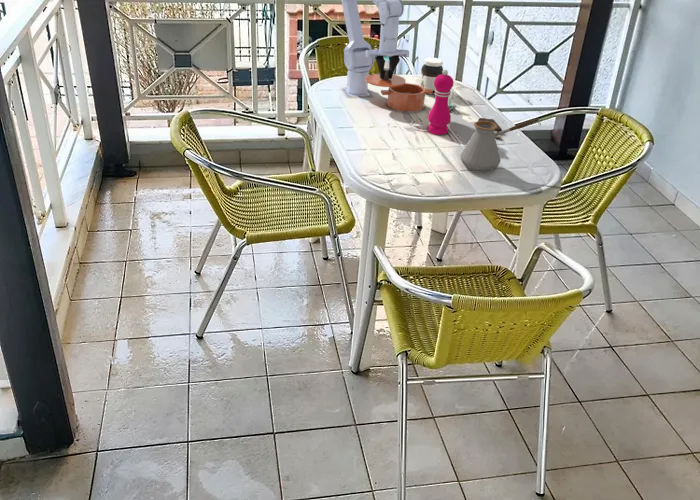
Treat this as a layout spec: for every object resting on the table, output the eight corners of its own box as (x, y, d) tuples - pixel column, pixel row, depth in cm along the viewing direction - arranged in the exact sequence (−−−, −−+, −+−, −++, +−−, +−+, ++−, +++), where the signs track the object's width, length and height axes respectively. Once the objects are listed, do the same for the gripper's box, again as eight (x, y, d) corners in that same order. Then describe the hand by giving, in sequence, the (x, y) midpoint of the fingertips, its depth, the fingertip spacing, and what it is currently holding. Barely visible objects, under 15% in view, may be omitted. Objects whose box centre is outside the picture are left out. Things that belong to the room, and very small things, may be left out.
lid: (361, 77, 235) (362, 63, 232) (399, 76, 237) (400, 63, 235) (370, 89, 223) (371, 75, 221) (409, 88, 226) (411, 75, 224)
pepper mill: (448, 136, 214) (456, 74, 204) (425, 133, 215) (432, 71, 205) (449, 128, 220) (457, 67, 210) (427, 126, 221) (434, 65, 211)
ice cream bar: (505, 139, 215) (491, 122, 227) (506, 134, 214) (492, 118, 226) (490, 139, 214) (476, 122, 227) (490, 134, 213) (477, 117, 226)
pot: (376, 101, 240) (377, 83, 237) (424, 100, 244) (426, 82, 241) (385, 113, 230) (386, 95, 227) (435, 112, 234) (437, 94, 230)
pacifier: (442, 112, 234) (458, 111, 235) (443, 95, 230) (459, 94, 232) (434, 105, 240) (450, 104, 241) (435, 88, 236) (451, 87, 238)
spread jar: (416, 87, 257) (419, 56, 251) (445, 86, 259) (449, 56, 253) (425, 97, 247) (428, 65, 241) (454, 97, 249) (459, 65, 243)
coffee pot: (463, 175, 189) (471, 124, 182) (455, 158, 199) (462, 110, 191) (537, 176, 191) (548, 125, 184) (525, 159, 201) (534, 111, 194)
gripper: (370, 40, 218) (367, 81, 225) (413, 40, 221) (409, 81, 228) (365, 35, 224) (362, 75, 231) (407, 35, 226) (403, 75, 233)
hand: (385, 78), depth 230 cm, fingers closed on lid, 2 cm apart
